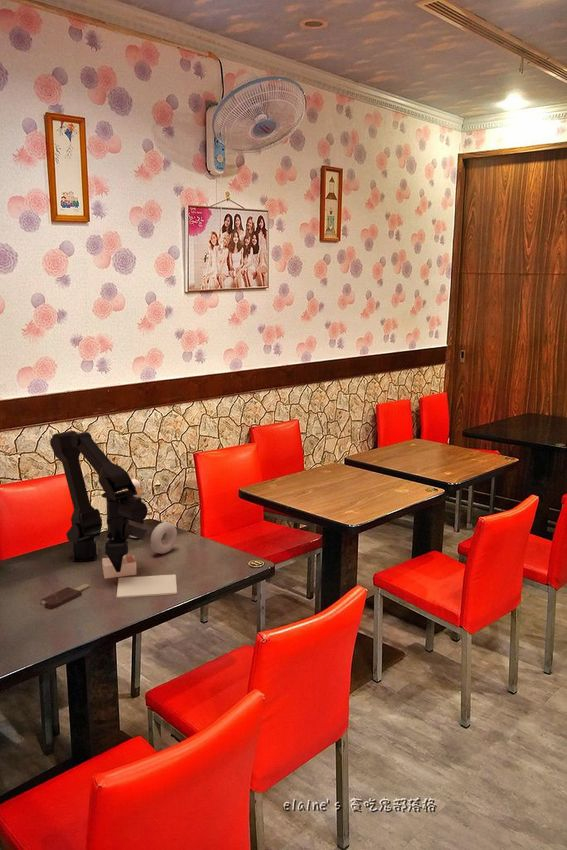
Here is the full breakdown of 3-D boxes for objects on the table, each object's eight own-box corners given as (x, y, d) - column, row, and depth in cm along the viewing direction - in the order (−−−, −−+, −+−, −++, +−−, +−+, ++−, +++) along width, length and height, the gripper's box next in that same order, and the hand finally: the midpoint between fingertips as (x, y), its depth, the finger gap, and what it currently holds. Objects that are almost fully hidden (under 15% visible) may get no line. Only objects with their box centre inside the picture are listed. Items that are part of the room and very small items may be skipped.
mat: (116, 598, 190) (116, 596, 189) (118, 579, 201) (118, 577, 201) (177, 594, 192) (177, 592, 192) (175, 576, 204) (175, 574, 204)
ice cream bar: (81, 585, 198) (38, 606, 185) (80, 580, 198) (37, 600, 185) (95, 589, 195) (52, 611, 183) (94, 584, 195) (52, 605, 182)
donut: (156, 559, 216) (155, 528, 214) (148, 556, 218) (147, 525, 216) (179, 549, 224) (179, 519, 222) (172, 547, 226) (171, 517, 224)
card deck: (104, 579, 202) (103, 566, 201) (102, 571, 207) (102, 558, 207) (136, 575, 205) (136, 562, 204) (133, 567, 210) (133, 554, 209)
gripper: (145, 524, 195) (147, 577, 198) (146, 502, 213) (147, 551, 216) (103, 526, 193) (106, 579, 196) (108, 504, 211) (110, 553, 214)
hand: (119, 565), depth 206 cm, fingers open, 9 cm apart
